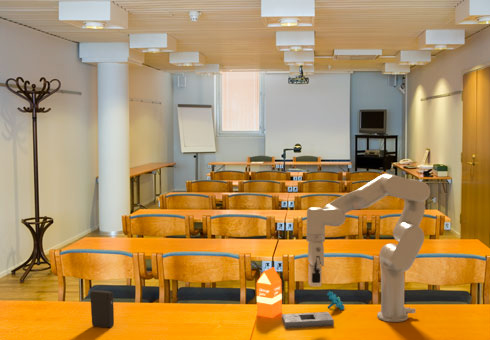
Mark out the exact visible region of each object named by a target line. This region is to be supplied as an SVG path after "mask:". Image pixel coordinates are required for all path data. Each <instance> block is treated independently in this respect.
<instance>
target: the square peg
mask: <svg viewBox="0 0 490 340" xmlns="http://www.w3.org/2000/svg"><path fill="white" fill-rule="evenodd" d="M314 266H317V265H316V264H315V265H314ZM322 267H323V266H321V265H320V283H313V282H312V273H313V266H312V265H310V264H308V275H307V277H308V278H307V279H308V280H307V283H308V285H309V287H322V272H323V271H322ZM315 268H316V267H315Z"/></svg>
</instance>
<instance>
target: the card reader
mask: <svg viewBox="0 0 490 340" xmlns="http://www.w3.org/2000/svg"><path fill="white" fill-rule="evenodd" d="M114 310H115V309H114V293H113V291H109V290H99V289H95V290H94V289H93V290H91V291H90V314H91V325H92V326H93V327H96V326H98V327H99V328H105V327H108V328H112V327H114V325H115V323H114V322H115V321H114V320H115V316H114V314H115V313H114Z"/></svg>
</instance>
